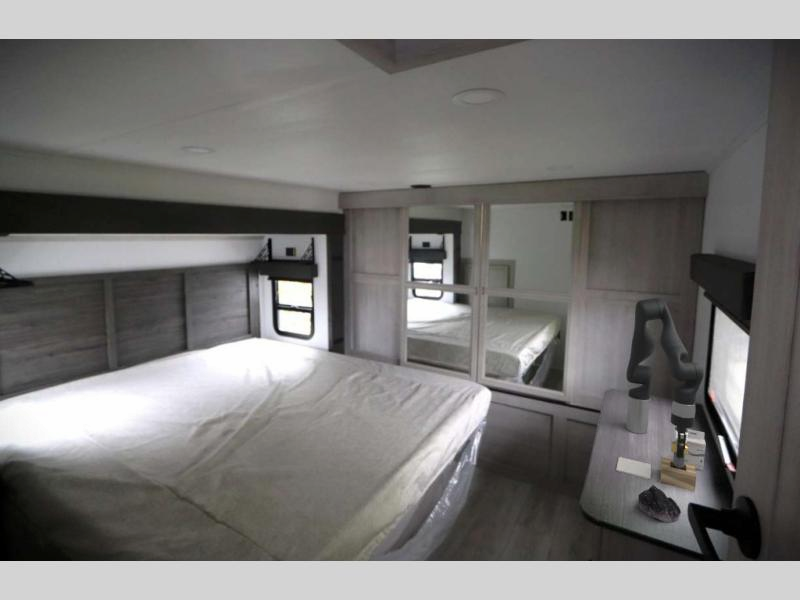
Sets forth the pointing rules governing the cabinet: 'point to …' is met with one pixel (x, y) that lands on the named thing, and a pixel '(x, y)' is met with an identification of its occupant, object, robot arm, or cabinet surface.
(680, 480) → the wooden block
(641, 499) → the crystal cluster
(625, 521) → the cabinet surface
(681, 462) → the grey gold cylinder
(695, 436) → the ink box
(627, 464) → the pad
